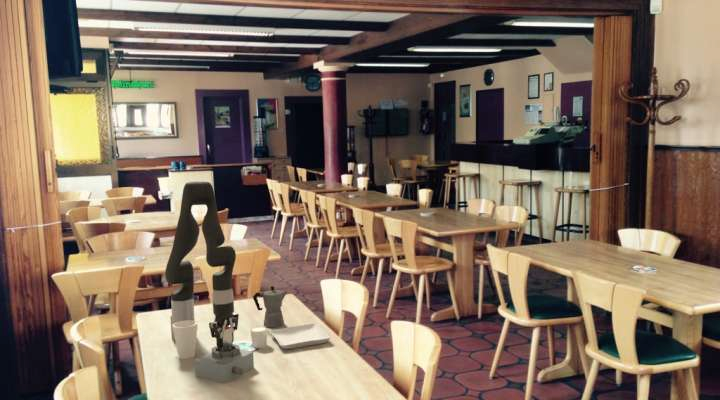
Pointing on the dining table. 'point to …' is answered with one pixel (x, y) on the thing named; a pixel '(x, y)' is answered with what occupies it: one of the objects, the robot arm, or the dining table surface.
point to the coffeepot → (271, 307)
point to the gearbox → (224, 364)
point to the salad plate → (300, 336)
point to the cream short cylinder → (259, 337)
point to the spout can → (227, 339)
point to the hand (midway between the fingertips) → (225, 344)
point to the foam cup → (185, 338)
